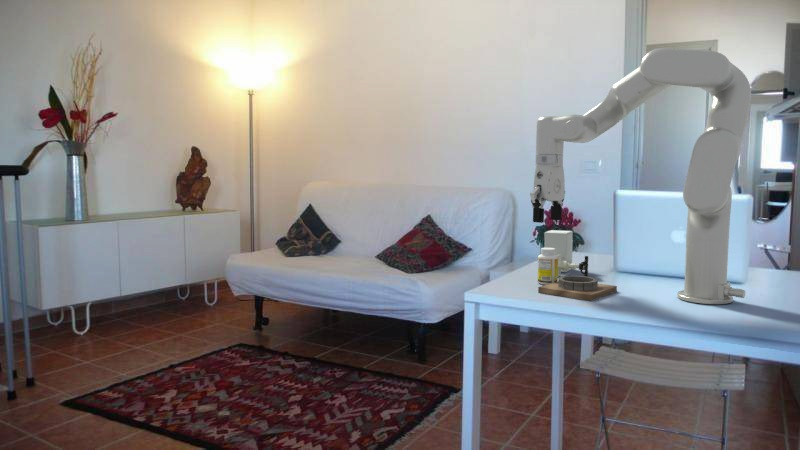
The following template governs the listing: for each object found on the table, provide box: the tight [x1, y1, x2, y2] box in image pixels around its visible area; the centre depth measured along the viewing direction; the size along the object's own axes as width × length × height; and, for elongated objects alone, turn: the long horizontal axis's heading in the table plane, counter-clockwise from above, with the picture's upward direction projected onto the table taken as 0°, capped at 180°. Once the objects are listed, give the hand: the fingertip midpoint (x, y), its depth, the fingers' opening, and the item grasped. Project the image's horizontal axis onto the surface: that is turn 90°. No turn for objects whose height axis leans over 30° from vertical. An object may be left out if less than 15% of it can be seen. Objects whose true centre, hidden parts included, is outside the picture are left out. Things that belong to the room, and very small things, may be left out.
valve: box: [554, 254, 589, 277], centre depth 187 cm, size 7×7×12 cm
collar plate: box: [537, 275, 618, 302], centre depth 164 cm, size 15×15×4 cm
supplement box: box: [543, 229, 574, 273], centre depth 198 cm, size 7×7×13 cm
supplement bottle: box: [537, 247, 559, 286], centre depth 176 cm, size 6×6×10 cm
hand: (547, 221), depth 175 cm, fingers open, 9 cm apart
